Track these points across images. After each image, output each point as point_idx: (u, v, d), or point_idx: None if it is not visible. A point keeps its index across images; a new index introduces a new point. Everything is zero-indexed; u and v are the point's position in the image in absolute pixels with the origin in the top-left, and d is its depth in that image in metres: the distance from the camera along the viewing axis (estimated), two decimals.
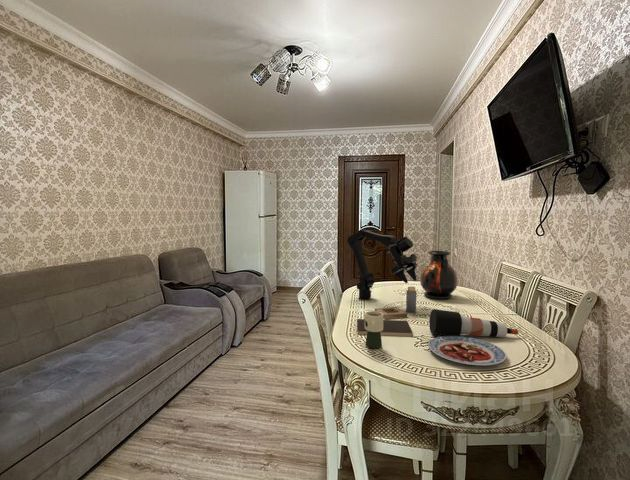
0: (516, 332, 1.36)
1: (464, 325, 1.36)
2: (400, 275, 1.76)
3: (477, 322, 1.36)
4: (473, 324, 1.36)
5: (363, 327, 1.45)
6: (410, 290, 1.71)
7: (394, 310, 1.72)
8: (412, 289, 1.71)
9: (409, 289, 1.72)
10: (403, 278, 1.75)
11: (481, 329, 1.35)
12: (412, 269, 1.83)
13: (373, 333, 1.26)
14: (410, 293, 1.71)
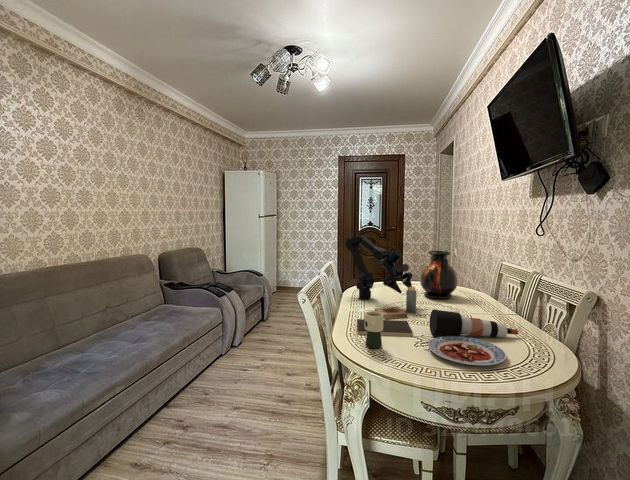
0: (516, 332, 1.36)
1: (464, 325, 1.35)
2: (393, 286, 1.75)
3: (477, 322, 1.36)
4: (473, 324, 1.36)
5: (363, 327, 1.45)
6: (410, 290, 1.71)
7: (394, 310, 1.72)
8: (412, 289, 1.71)
9: (409, 289, 1.72)
10: (396, 288, 1.74)
11: (481, 329, 1.35)
12: (407, 279, 1.81)
13: (373, 333, 1.26)
14: (410, 293, 1.71)
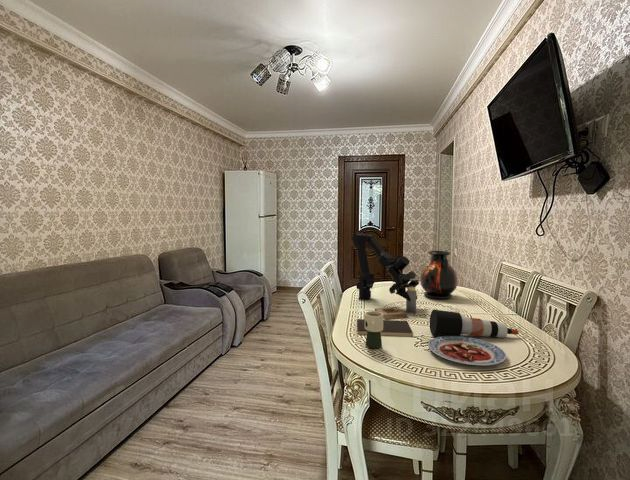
0: (516, 332, 1.36)
1: (465, 325, 1.35)
2: (402, 293, 1.73)
3: (477, 322, 1.36)
4: (474, 324, 1.35)
5: (363, 327, 1.45)
6: (410, 290, 1.71)
7: (394, 310, 1.72)
8: (412, 289, 1.71)
9: (409, 289, 1.72)
10: (405, 296, 1.71)
11: (482, 329, 1.35)
12: None
13: (373, 333, 1.26)
14: (410, 293, 1.71)
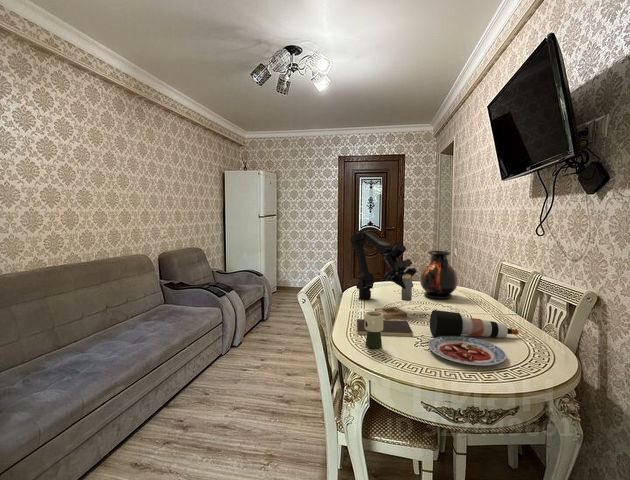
0: (516, 332, 1.36)
1: (465, 326, 1.35)
2: (397, 281, 1.71)
3: (478, 323, 1.36)
4: (474, 325, 1.35)
5: (363, 327, 1.45)
6: (405, 277, 1.69)
7: (394, 310, 1.72)
8: (407, 276, 1.69)
9: (404, 276, 1.70)
10: (400, 283, 1.70)
11: (482, 330, 1.34)
12: None
13: (373, 333, 1.26)
14: (405, 280, 1.69)
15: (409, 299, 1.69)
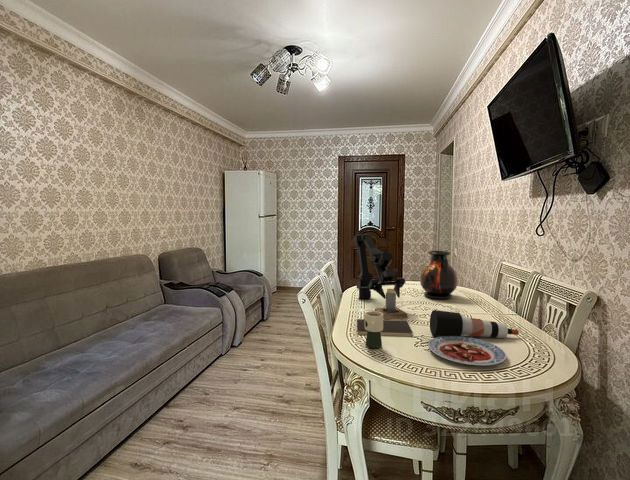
0: (516, 332, 1.36)
1: (465, 326, 1.35)
2: (379, 290, 1.69)
3: (478, 323, 1.35)
4: (474, 325, 1.35)
5: (363, 327, 1.45)
6: (388, 292, 1.67)
7: None
8: (390, 291, 1.66)
9: (387, 291, 1.67)
10: (381, 293, 1.67)
11: (482, 330, 1.34)
12: (396, 285, 1.71)
13: (373, 333, 1.26)
14: (387, 295, 1.67)
15: None
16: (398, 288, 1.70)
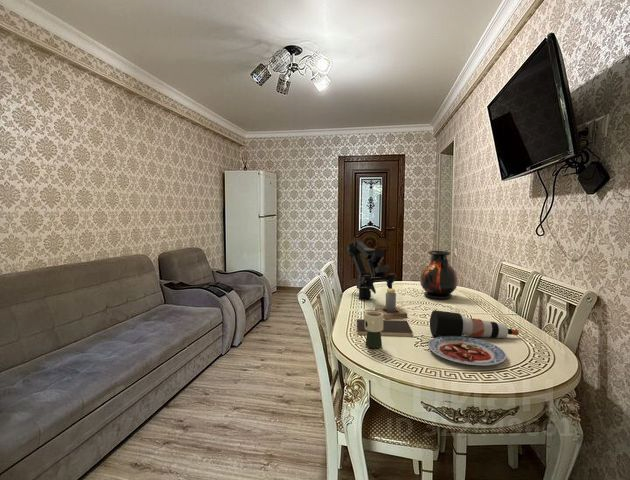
0: (517, 333, 1.36)
1: (465, 326, 1.34)
2: (370, 286, 1.79)
3: (478, 323, 1.35)
4: (474, 325, 1.35)
5: (363, 327, 1.45)
6: (388, 292, 1.67)
7: None
8: (390, 291, 1.66)
9: (387, 291, 1.67)
10: (372, 288, 1.77)
11: (482, 330, 1.34)
12: (389, 281, 1.81)
13: (373, 333, 1.26)
14: (387, 295, 1.67)
15: None
16: (390, 283, 1.79)
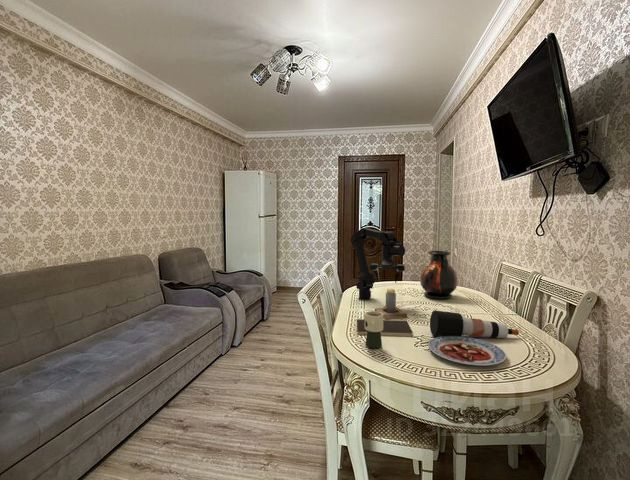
0: (517, 333, 1.36)
1: (465, 326, 1.34)
2: None
3: (478, 323, 1.35)
4: (474, 325, 1.35)
5: (363, 327, 1.45)
6: (388, 292, 1.67)
7: None
8: (390, 291, 1.66)
9: (387, 291, 1.67)
10: None
11: (482, 330, 1.34)
12: (396, 272, 1.82)
13: (373, 333, 1.26)
14: (387, 295, 1.67)
15: None
16: (397, 275, 1.82)
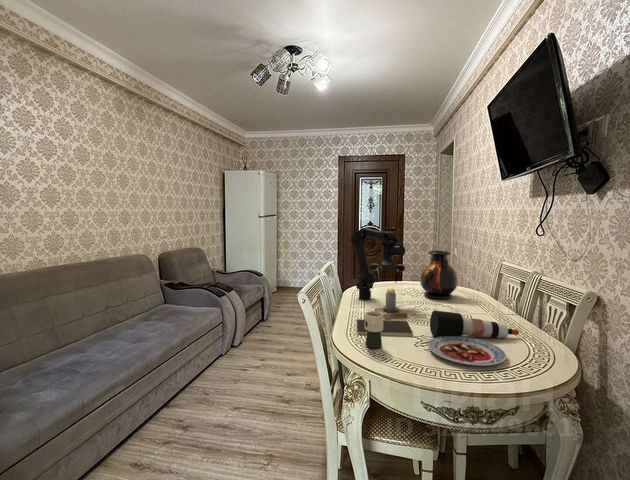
0: (517, 332, 1.36)
1: (466, 326, 1.34)
2: None
3: (478, 323, 1.35)
4: (474, 325, 1.34)
5: (363, 327, 1.45)
6: (388, 292, 1.67)
7: None
8: (390, 291, 1.66)
9: (387, 291, 1.67)
10: None
11: (482, 330, 1.34)
12: (396, 272, 1.82)
13: (373, 333, 1.26)
14: (387, 295, 1.67)
15: None
16: (397, 275, 1.82)
